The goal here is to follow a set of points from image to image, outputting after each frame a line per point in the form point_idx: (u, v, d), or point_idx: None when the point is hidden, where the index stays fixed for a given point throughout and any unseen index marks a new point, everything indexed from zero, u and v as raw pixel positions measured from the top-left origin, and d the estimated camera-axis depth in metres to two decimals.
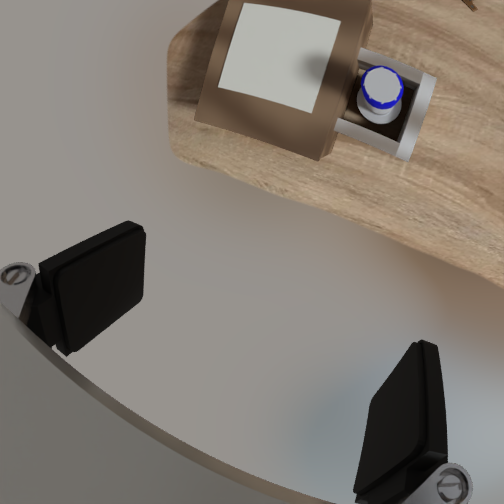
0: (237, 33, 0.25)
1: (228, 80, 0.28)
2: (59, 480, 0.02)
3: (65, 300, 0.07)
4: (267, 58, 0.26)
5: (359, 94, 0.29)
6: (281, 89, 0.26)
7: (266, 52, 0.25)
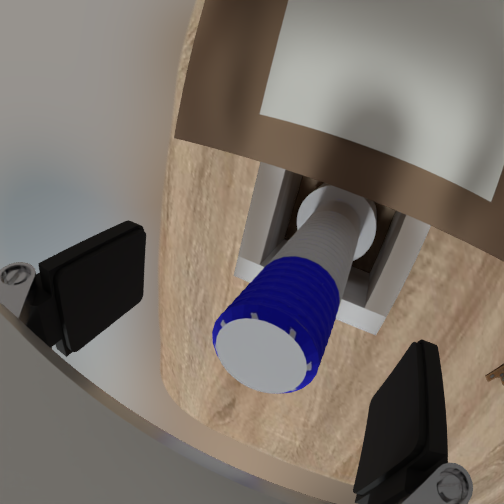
0: None
1: None
2: (59, 480, 0.02)
3: (65, 300, 0.07)
4: (391, 14, 0.08)
5: None
6: (311, 44, 0.10)
7: (406, 13, 0.08)
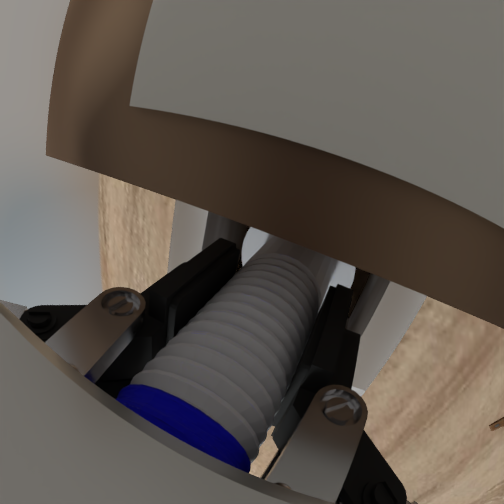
0: None
1: None
2: (59, 480, 0.02)
3: (176, 326, 0.08)
4: None
5: None
6: None
7: None
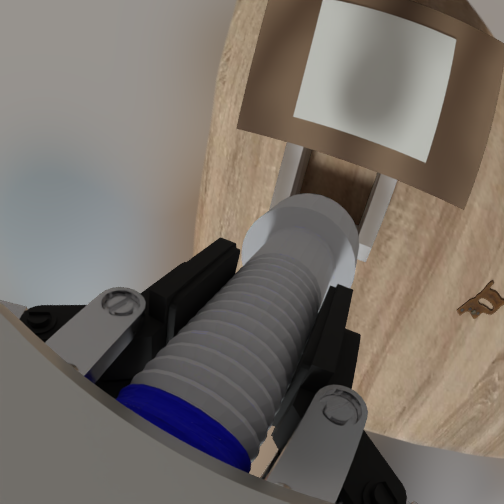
0: (406, 24, 0.15)
1: (333, 10, 0.16)
2: (59, 480, 0.02)
3: (176, 326, 0.08)
4: (368, 60, 0.17)
5: (310, 214, 0.12)
6: (322, 78, 0.19)
7: (376, 59, 0.17)
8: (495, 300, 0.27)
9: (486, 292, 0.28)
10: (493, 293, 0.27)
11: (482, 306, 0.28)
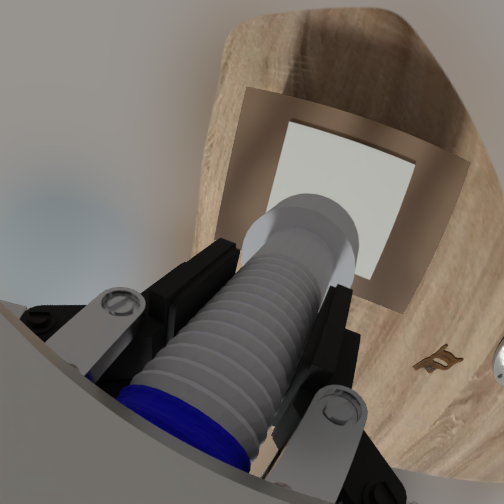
0: (366, 151, 0.21)
1: (297, 136, 0.22)
2: (59, 480, 0.02)
3: (176, 326, 0.08)
4: (325, 190, 0.23)
5: (310, 214, 0.12)
6: None
7: (333, 189, 0.23)
8: (449, 359, 0.33)
9: (440, 353, 0.33)
10: (447, 354, 0.33)
11: (436, 364, 0.34)
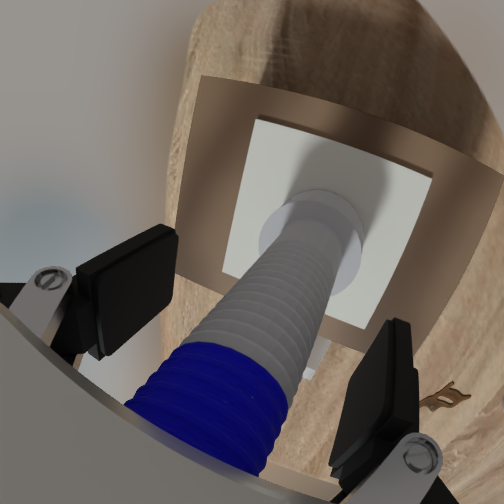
0: (363, 159, 0.15)
1: (267, 139, 0.16)
2: (59, 480, 0.02)
3: (103, 304, 0.07)
4: None
5: (321, 207, 0.13)
6: (252, 233, 0.19)
7: None
8: (455, 397, 0.27)
9: (445, 391, 0.27)
10: (453, 392, 0.27)
11: (441, 402, 0.28)
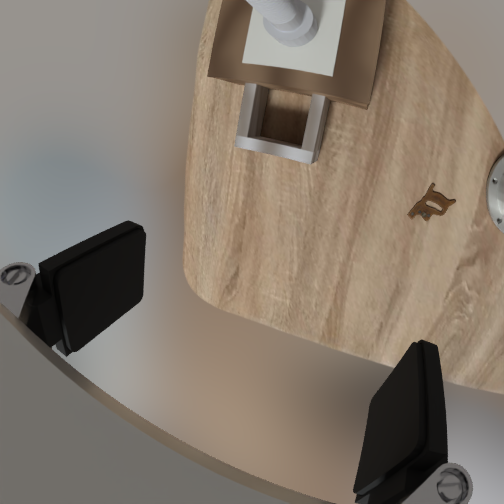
0: None
1: None
2: (59, 480, 0.02)
3: (65, 300, 0.07)
4: None
5: None
6: (258, 36, 0.28)
7: None
8: (441, 201, 0.35)
9: (430, 194, 0.36)
10: (437, 195, 0.35)
11: (430, 208, 0.36)
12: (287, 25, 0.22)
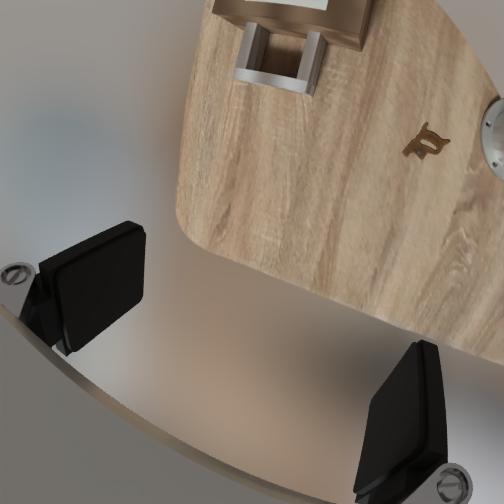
0: None
1: None
2: (59, 480, 0.02)
3: (65, 300, 0.07)
4: None
5: None
6: None
7: None
8: (435, 140, 0.34)
9: (424, 133, 0.34)
10: (431, 133, 0.34)
11: (425, 146, 0.35)
12: None
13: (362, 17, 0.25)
